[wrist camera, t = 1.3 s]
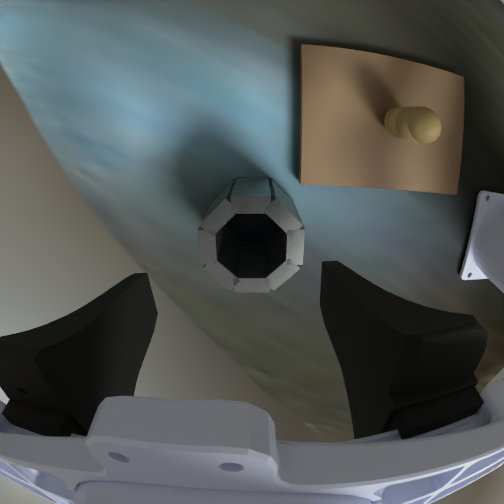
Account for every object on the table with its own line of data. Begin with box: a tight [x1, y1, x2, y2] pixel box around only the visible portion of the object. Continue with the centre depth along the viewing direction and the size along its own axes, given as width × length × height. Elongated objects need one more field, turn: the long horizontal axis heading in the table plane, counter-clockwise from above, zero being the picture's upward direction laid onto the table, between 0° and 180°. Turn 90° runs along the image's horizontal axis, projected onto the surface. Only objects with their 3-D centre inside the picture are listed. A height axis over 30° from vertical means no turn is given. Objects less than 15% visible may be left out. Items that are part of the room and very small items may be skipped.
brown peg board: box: [299, 44, 464, 195], centre depth 15 cm, size 12×9×6 cm
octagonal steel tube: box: [198, 177, 305, 292], centre depth 18 cm, size 6×6×5 cm
